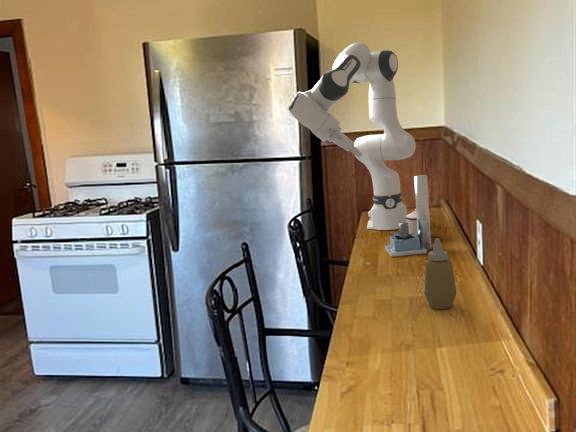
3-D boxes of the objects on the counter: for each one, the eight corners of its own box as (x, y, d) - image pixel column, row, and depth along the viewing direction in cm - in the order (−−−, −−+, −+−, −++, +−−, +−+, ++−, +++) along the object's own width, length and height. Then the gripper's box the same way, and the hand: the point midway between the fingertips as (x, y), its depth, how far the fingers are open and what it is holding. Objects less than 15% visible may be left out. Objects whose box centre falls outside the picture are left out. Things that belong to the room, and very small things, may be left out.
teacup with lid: (432, 240, 222) (430, 210, 219) (407, 242, 224) (405, 211, 221) (431, 233, 233) (429, 204, 231) (407, 234, 235) (405, 205, 233)
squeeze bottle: (426, 312, 151) (422, 243, 148) (423, 301, 159) (419, 236, 156) (459, 310, 150) (455, 241, 147) (455, 300, 158) (451, 234, 155)
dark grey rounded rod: (399, 250, 213) (397, 222, 212) (409, 249, 213) (407, 221, 212) (401, 252, 210) (399, 224, 208) (411, 251, 210) (409, 223, 208)
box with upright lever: (381, 244, 224) (376, 175, 219) (422, 240, 224) (418, 171, 219) (391, 256, 206) (385, 182, 201) (435, 252, 206) (431, 177, 201)
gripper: (337, 123, 196) (369, 149, 197) (331, 121, 216) (360, 145, 218) (324, 138, 196) (356, 164, 198) (320, 134, 217) (349, 159, 218)
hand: (358, 154), depth 208 cm, fingers open, 8 cm apart
